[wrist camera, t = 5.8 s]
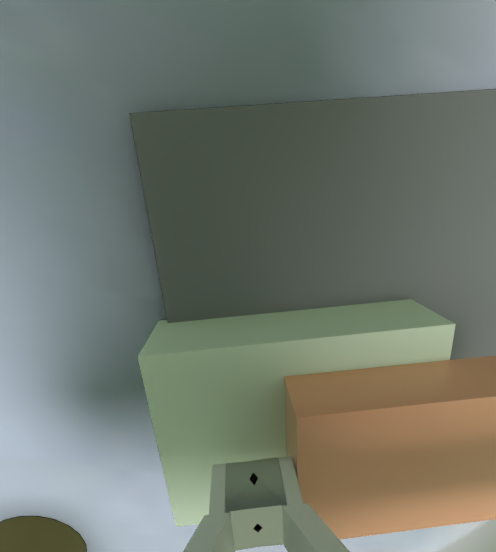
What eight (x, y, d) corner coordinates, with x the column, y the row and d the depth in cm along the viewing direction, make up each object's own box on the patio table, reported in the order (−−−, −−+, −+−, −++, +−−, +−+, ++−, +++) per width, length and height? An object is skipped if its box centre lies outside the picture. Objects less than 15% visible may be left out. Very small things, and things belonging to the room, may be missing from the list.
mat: (133, 116, 10) (129, 113, 10) (647, 81, 11) (663, 77, 10) (191, 442, 15) (190, 448, 14) (551, 400, 15) (559, 405, 15)
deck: (158, 320, 12) (137, 356, 10) (405, 295, 13) (455, 323, 10) (186, 463, 15) (175, 526, 12) (391, 438, 15) (428, 493, 13)
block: (283, 376, 10) (296, 417, 8) (504, 354, 11) (566, 388, 9) (287, 488, 12) (298, 544, 10) (477, 465, 12) (523, 515, 10)
